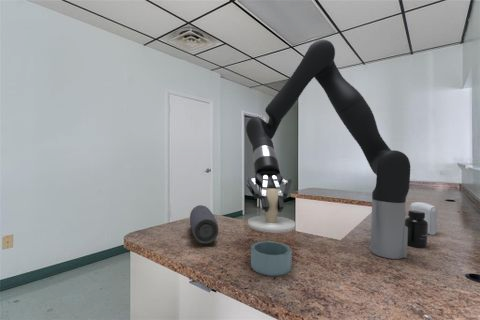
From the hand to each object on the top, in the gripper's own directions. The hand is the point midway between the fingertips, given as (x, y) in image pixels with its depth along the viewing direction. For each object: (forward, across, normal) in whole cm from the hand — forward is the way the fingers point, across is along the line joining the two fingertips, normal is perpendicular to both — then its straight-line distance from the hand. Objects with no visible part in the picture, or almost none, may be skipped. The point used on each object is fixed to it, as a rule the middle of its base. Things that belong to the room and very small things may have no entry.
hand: (273, 210), depth 65 cm
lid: (+2, 0, +5) cm, 5 cm away
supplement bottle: (0, +56, +23) cm, 61 cm away
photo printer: (-11, +73, +34) cm, 82 cm away
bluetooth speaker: (-8, -20, +31) cm, 38 cm away
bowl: (+10, 0, +13) cm, 16 cm away
